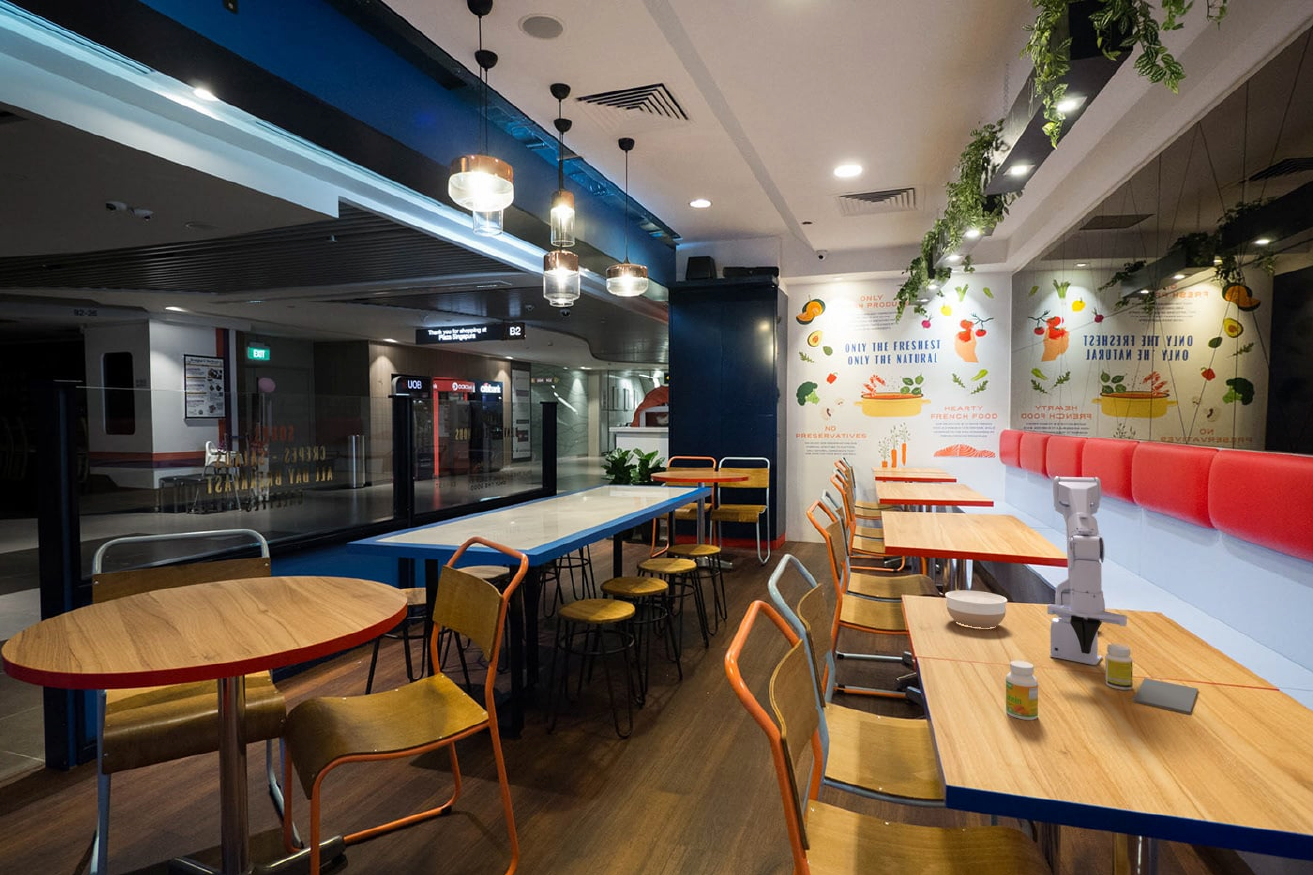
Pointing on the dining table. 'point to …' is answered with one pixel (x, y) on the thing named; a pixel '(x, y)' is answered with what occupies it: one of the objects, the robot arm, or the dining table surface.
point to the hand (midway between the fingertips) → (1086, 652)
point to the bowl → (976, 608)
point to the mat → (1166, 695)
